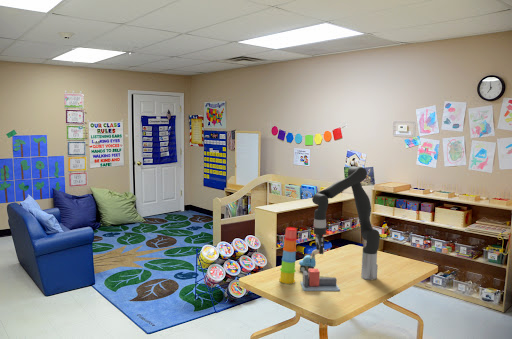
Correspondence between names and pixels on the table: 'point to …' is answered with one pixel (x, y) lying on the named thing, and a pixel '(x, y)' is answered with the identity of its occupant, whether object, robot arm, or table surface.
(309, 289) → the base board
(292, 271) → the stacking cups
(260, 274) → the table surface
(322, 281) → the coupler rail
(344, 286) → the table surface
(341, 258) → the table surface
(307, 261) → the toy excavator
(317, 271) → the red slotted block
